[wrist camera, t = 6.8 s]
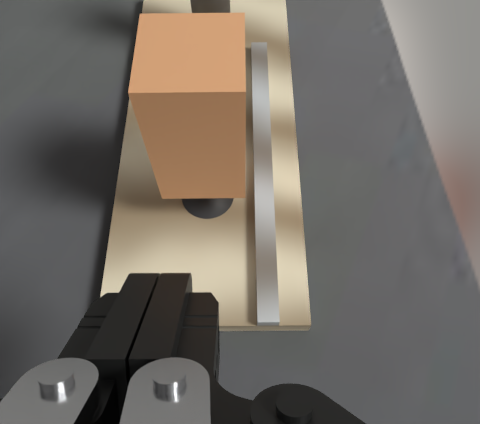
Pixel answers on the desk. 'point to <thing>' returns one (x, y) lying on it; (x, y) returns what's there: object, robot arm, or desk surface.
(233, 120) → the tan wooden block
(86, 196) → the desk surface
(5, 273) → the desk surface
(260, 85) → the plate
